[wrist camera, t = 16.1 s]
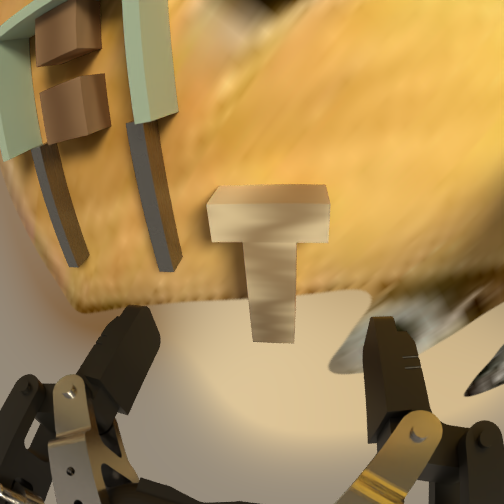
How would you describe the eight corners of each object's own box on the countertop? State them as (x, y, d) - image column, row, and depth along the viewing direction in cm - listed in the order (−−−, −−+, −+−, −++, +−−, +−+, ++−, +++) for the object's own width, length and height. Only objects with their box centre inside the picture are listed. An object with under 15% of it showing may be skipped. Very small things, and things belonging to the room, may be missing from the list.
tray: (165, -35, 11) (137, -53, 8) (178, 111, 17) (151, 121, 14) (21, 33, 14) (-12, 36, 10) (35, 146, 19) (3, 161, 16)
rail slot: (156, 115, 17) (142, 120, 16) (182, 256, 23) (174, 272, 22) (46, 142, 19) (30, 149, 17) (80, 254, 25) (69, 266, 23)
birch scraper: (330, 203, 16) (318, 343, 22) (325, 184, 19) (317, 315, 25) (206, 204, 17) (229, 340, 23) (219, 185, 20) (236, 312, 26)
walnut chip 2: (105, 73, 16) (79, 76, 14) (112, 125, 18) (88, 134, 16) (65, 87, 17) (39, 92, 14) (73, 134, 19) (48, 145, 16)
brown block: (101, 1, 13) (75, -4, 10) (103, 48, 15) (76, 48, 13) (61, 20, 14) (35, 19, 11) (63, 63, 16) (36, 67, 13)
